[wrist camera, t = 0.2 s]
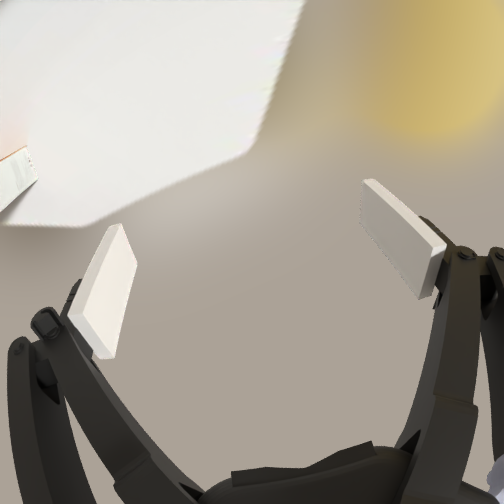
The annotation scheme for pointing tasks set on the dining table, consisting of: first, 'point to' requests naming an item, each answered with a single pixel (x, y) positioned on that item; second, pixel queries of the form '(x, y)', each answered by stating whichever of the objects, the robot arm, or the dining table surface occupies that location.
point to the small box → (15, 176)
